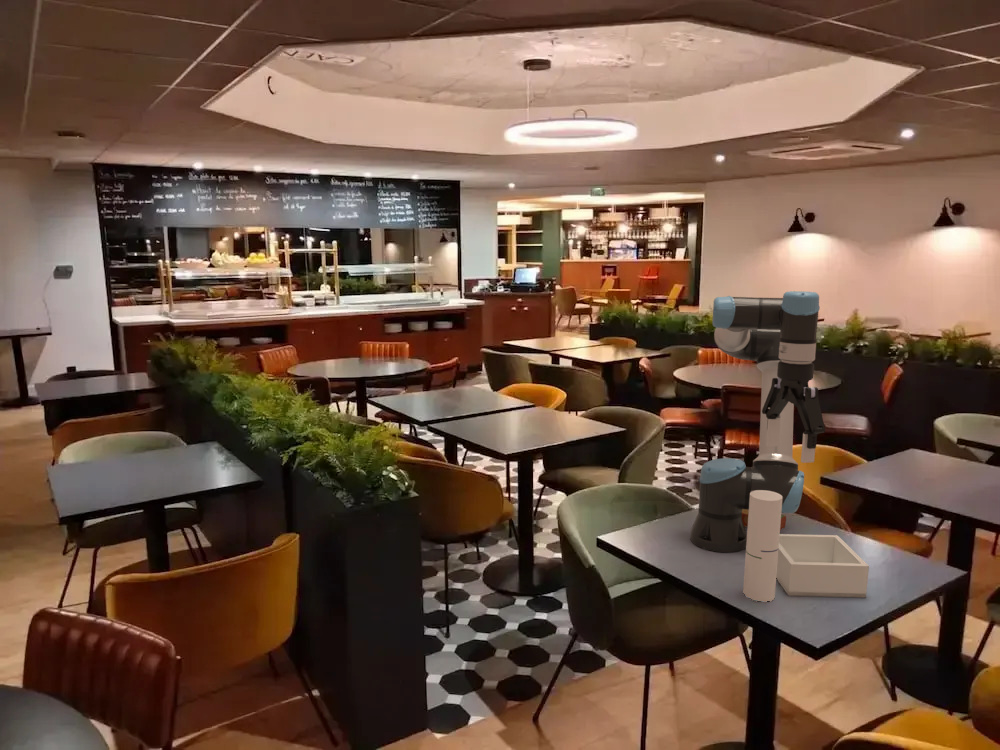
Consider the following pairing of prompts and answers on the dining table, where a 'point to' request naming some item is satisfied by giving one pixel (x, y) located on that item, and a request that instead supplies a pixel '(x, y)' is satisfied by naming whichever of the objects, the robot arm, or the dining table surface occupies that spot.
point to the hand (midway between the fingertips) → (789, 453)
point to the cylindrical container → (762, 545)
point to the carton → (745, 519)
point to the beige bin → (820, 567)
